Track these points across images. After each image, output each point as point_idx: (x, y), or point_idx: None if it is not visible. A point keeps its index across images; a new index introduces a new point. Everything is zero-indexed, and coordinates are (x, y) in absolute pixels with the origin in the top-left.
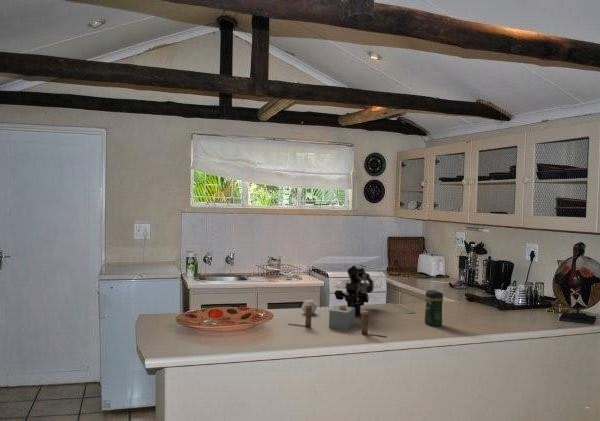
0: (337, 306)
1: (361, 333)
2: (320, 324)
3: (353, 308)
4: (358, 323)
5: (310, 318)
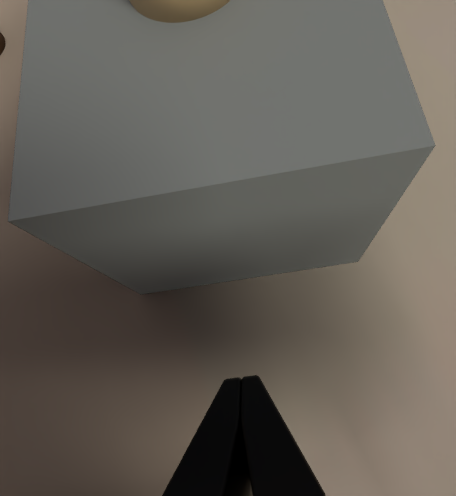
0: (366, 62)
1: (2, 36)
2: (426, 56)
3: (20, 117)
4: (105, 332)
5: None
